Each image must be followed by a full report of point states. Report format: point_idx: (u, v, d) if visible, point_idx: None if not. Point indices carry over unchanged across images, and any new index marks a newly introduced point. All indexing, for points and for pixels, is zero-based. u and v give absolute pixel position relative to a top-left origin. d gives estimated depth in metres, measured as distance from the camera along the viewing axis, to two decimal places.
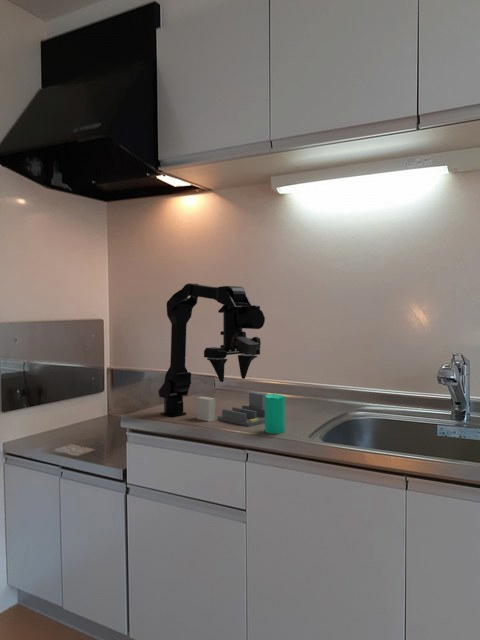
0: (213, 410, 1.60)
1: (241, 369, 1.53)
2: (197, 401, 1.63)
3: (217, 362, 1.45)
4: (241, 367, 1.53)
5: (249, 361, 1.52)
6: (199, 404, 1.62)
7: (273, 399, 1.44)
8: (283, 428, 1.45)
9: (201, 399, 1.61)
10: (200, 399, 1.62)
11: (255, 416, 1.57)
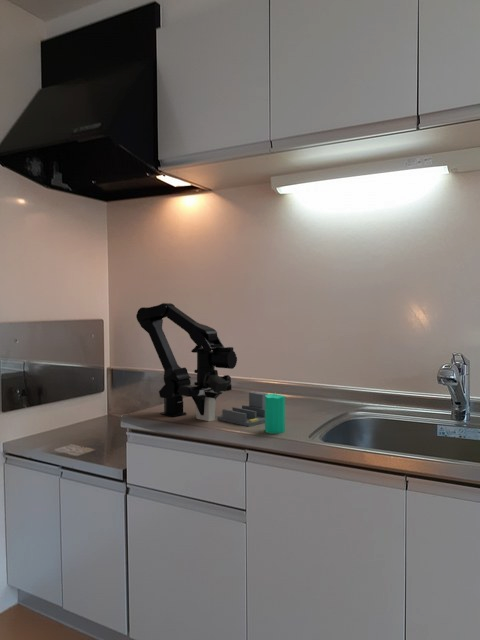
0: (213, 410, 1.60)
1: None
2: None
3: (198, 397, 1.60)
4: None
5: (214, 397, 1.63)
6: None
7: (273, 399, 1.44)
8: (283, 428, 1.45)
9: None
10: None
11: (255, 416, 1.57)
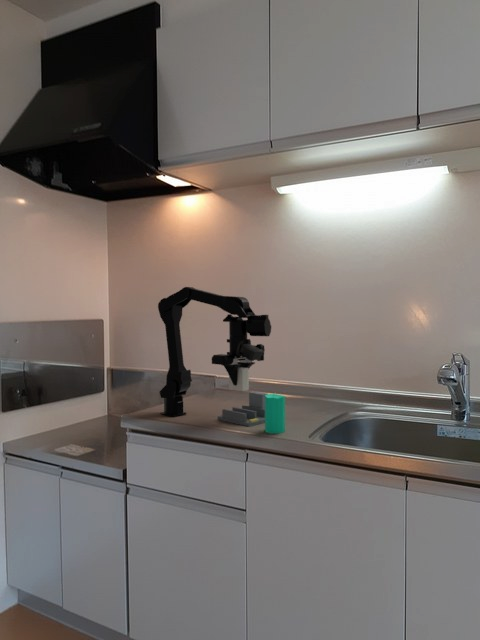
0: (247, 380, 1.57)
1: None
2: None
3: (231, 367, 1.57)
4: None
5: (247, 367, 1.59)
6: None
7: (273, 399, 1.44)
8: (283, 428, 1.45)
9: None
10: None
11: (255, 416, 1.57)
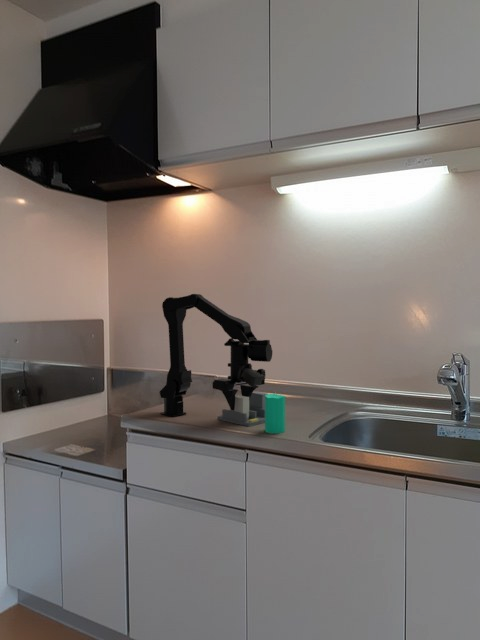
0: (247, 409, 1.57)
1: None
2: None
3: (228, 392, 1.56)
4: None
5: (251, 391, 1.61)
6: None
7: (273, 399, 1.44)
8: (283, 428, 1.45)
9: (235, 398, 1.58)
10: None
11: (255, 416, 1.57)
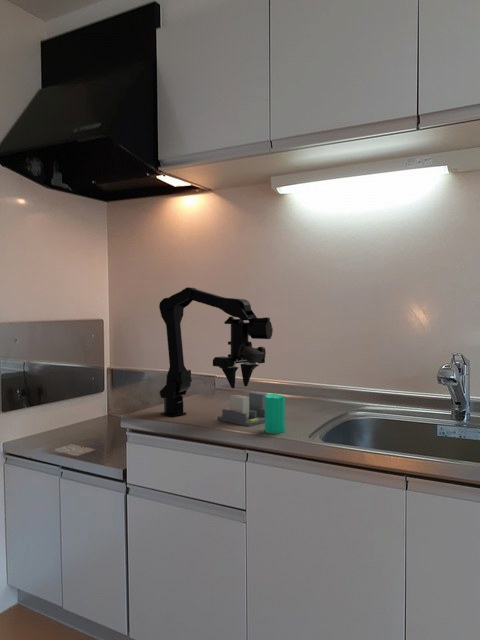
0: (247, 409, 1.57)
1: (244, 377, 1.61)
2: (230, 400, 1.60)
3: (229, 370, 1.56)
4: (244, 375, 1.61)
5: (251, 369, 1.60)
6: (232, 402, 1.59)
7: (273, 399, 1.44)
8: (283, 428, 1.45)
9: (235, 398, 1.58)
10: (234, 398, 1.59)
11: (255, 416, 1.57)
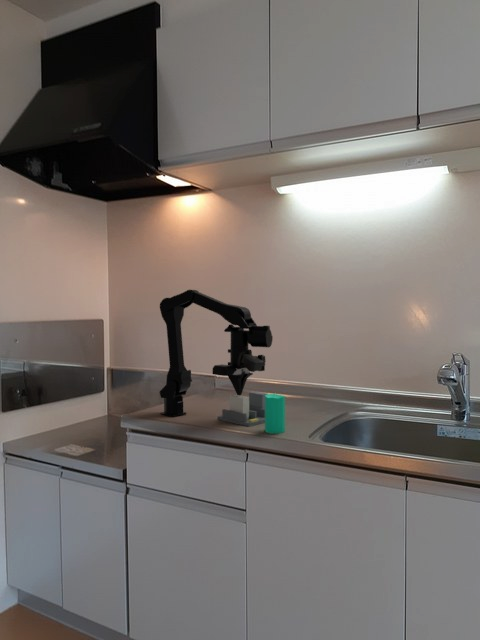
0: (247, 409, 1.57)
1: None
2: (230, 400, 1.60)
3: (234, 377, 1.58)
4: None
5: (245, 378, 1.59)
6: (232, 402, 1.59)
7: (273, 399, 1.44)
8: (283, 428, 1.45)
9: (235, 398, 1.58)
10: (234, 398, 1.59)
11: (255, 416, 1.57)
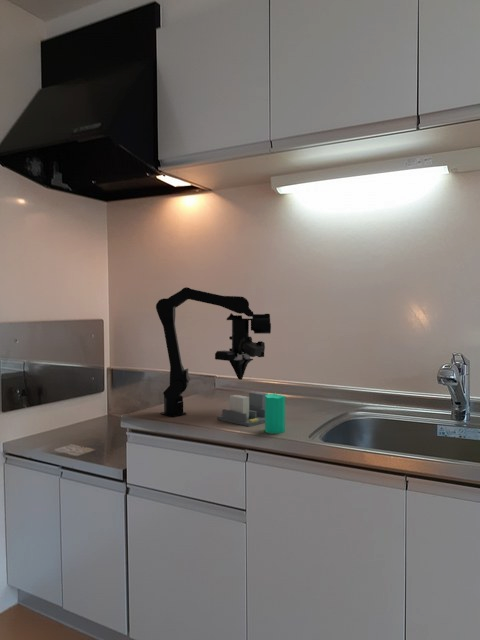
0: (247, 409, 1.57)
1: None
2: (230, 400, 1.60)
3: (236, 362, 1.68)
4: None
5: (246, 364, 1.68)
6: (232, 402, 1.59)
7: (273, 399, 1.44)
8: (283, 428, 1.45)
9: (235, 398, 1.58)
10: (234, 398, 1.59)
11: (255, 416, 1.57)
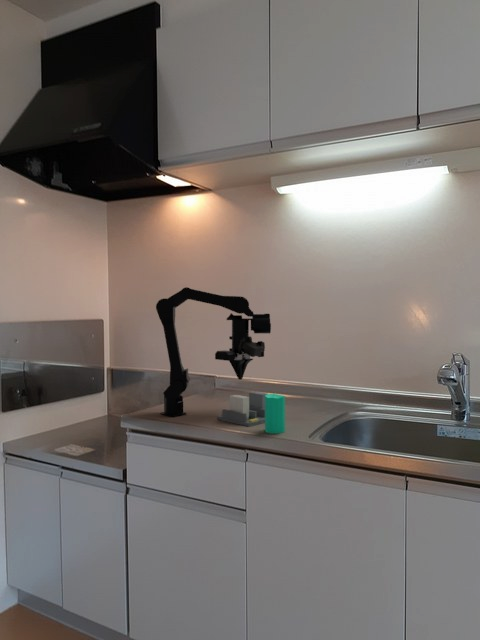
0: (247, 409, 1.57)
1: None
2: (230, 400, 1.60)
3: (236, 362, 1.68)
4: None
5: (246, 363, 1.69)
6: (232, 402, 1.59)
7: (273, 399, 1.44)
8: (283, 428, 1.45)
9: (235, 398, 1.58)
10: (234, 398, 1.59)
11: (255, 416, 1.57)
